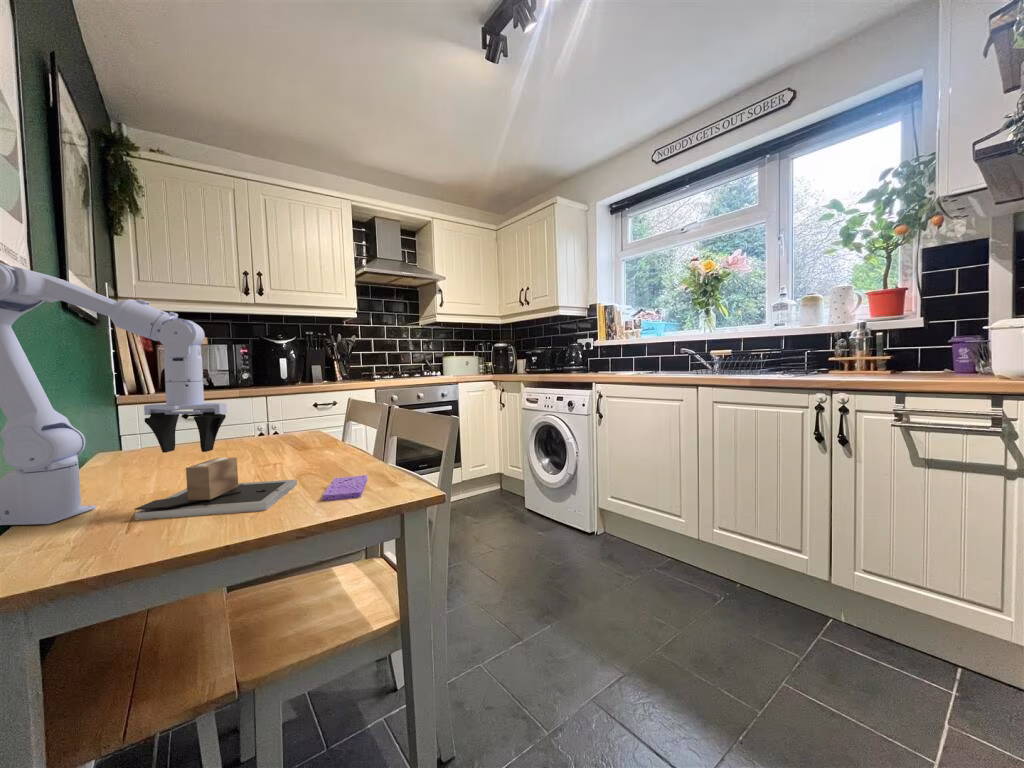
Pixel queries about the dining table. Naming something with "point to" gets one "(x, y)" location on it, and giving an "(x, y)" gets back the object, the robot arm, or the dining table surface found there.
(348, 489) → the sponges
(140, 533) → the dining table surface
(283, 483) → the picture frame
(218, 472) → the walnut block
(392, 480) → the dining table surface
